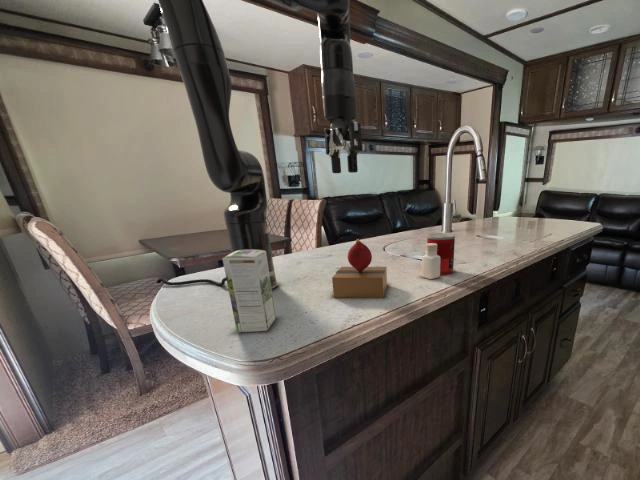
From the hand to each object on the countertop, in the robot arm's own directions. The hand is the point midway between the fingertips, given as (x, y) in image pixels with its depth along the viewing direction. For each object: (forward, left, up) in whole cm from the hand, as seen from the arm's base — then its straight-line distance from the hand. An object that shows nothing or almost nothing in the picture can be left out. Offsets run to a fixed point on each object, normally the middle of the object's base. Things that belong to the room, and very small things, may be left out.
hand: (344, 172), depth 78 cm
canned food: (+25, +10, -28) cm, 39 cm away
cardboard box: (+4, -8, -28) cm, 29 cm away
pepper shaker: (+22, +4, -28) cm, 36 cm away
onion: (+4, -8, -23) cm, 25 cm away
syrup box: (-13, -29, -28) cm, 43 cm away
